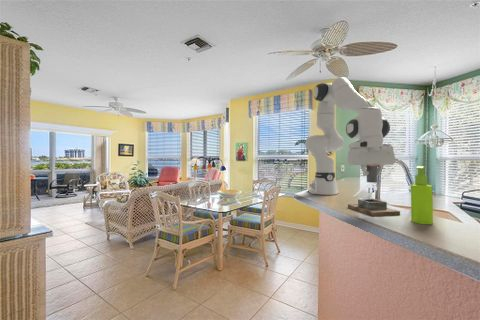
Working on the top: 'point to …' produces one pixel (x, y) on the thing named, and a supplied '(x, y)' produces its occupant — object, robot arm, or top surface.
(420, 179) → the soap dispenser
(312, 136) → the robot arm
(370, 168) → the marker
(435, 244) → the top surface
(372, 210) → the wooden socket board
